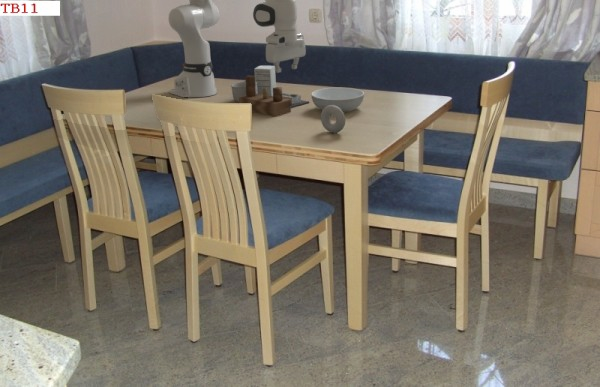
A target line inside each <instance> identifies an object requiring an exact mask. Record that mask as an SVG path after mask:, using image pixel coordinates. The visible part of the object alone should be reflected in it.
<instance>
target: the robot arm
mask: <svg viewBox="0 0 600 387" xmlns="http://www.w3.org/2000/svg"><path fill="white" fill-rule="evenodd" d="M297 10H298V9H297V1H296V0H264V1H263V2H261V3H258V4H256V5H255V7H254V8H253V11H252V17H253V20H254V22H255V24H256V25H257V26H259V27H261V28H262V27H263V28H267V27H274V31H273V32H272V33H271V34H269V35H268V36H267V37H266V38H265V42H266V46H265V60H266V62H267V63H270V64H273V66H275V74H276V73H278V74H279V73H282V67H280V63H281V62H285V61H289V60H293V63H292V64H291V69H292V70H296V69H298V64H299V61H300V58H302V57H305V56H306V52H307V51H306V50H307V49H306V42H305V37H304V35H303V34H302V33H298V27H297V18H298V11H297ZM220 15H221V14H220V10H219V8H218V6H217V5H216V4H215V3H214V2H213V0H189V4H182V5H179V6H176V7H174V8H172V9H171V10H170V11H169V14H168V23H169V26H170V27H171V29H172V30H174V31H175V32H176V33H177V34H178V35H179V38H180V39H181V42H182V47H183V51H184V63H182V64H181V67H183V68H182V71H181V72H180V74H178V76H176V78H175V79H174V84H173V86H174V87H173V88H172V89H169V94H173V95H175V96H177V97H181V98H184V97H188V98H203V97H210V96H214V95H216V94H217V93H218V92H217V91H218V88H217V87H216V83H215V82H216V81H215V76H214V72H213V71H212V70H213V64H212V63H213V62H212V60H211V48H210V43H209V42H208V41H207V40H206V39H204V37H203V36H202V32H201V30H203V29H209V28H210V27H213V26H215V25H216V24H218V22H219V20H220Z"/></svg>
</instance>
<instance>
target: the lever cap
mask: <svg viewBox="0 0 600 387" xmlns="http://www.w3.org/2000/svg"><path fill="white" fill-rule="evenodd" d="M282 98H285V99H290V103H291V105H294V104H298V103H301V100H302V96H301V95H299V94H296V93H289V92H288V93H287V92H282Z"/></svg>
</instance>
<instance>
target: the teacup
mask: <svg viewBox="0 0 600 387" xmlns="http://www.w3.org/2000/svg"><path fill="white" fill-rule="evenodd" d="M230 88H231V93H232V98H233V100H234V101H235V102H237V103H238V104H239V97H241V96H245V95H246V81H245V80H244V81H239V82H235V83H233V84H231V86H230ZM255 90H256V93H257V94H258V91H257V82H255Z"/></svg>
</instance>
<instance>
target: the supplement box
mask: <svg viewBox="0 0 600 387" xmlns="http://www.w3.org/2000/svg"><path fill="white" fill-rule="evenodd" d="M253 70H254V76H255V82H257V91H258V94H263V88H267V95H268V96H273V88H275V87H277V81H276V80H277V79H276V68H275V66H274V65H258V66H256V67H255V68H254V69H253Z"/></svg>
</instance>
